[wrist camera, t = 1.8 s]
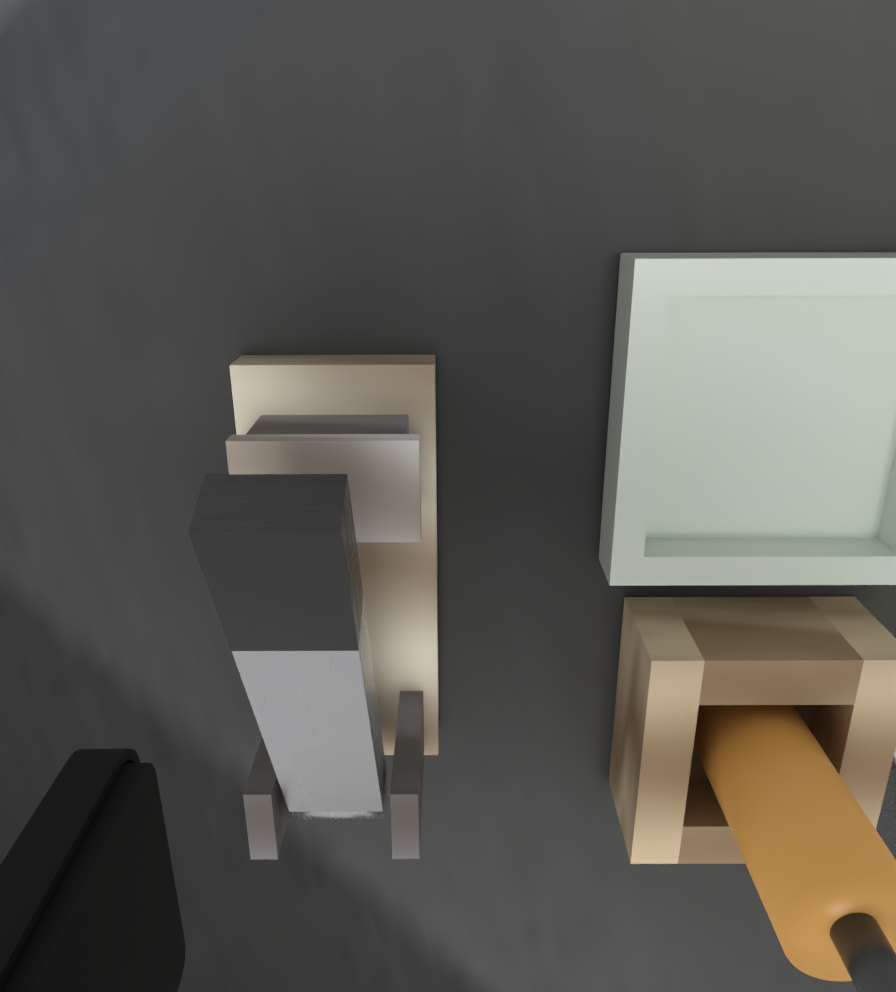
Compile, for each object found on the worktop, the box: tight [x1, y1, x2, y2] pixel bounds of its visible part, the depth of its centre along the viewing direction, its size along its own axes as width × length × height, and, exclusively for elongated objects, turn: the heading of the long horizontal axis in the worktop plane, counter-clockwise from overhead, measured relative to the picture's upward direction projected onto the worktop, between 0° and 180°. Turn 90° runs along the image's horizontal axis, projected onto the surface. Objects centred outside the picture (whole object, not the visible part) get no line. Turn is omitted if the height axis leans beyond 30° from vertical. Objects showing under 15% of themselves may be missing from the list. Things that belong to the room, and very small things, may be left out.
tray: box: [599, 252, 896, 586], centre depth 25 cm, size 10×10×2 cm
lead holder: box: [609, 596, 896, 864], centre depth 28 cm, size 8×8×4 cm
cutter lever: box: [189, 474, 387, 819], centre depth 20 cm, size 14×3×2 cm, turn 0°
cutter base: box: [225, 354, 439, 859], centre depth 24 cm, size 14×6×6 cm, turn 0°
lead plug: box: [694, 705, 896, 992], centre depth 24 cm, size 4×4×12 cm
